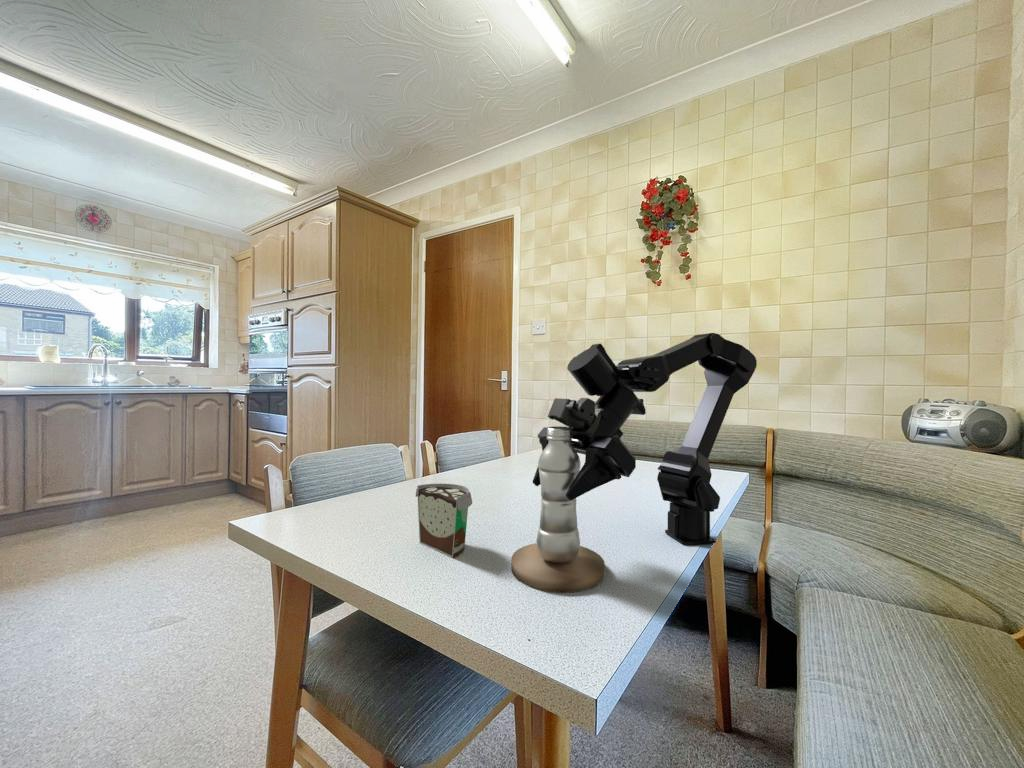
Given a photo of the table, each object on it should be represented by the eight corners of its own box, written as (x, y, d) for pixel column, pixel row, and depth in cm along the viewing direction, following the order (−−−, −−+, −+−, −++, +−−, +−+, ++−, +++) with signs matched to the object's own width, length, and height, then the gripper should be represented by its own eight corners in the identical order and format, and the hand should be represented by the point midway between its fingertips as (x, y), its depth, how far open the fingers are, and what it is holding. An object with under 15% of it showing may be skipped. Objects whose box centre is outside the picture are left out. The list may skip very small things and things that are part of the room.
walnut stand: (585, 548, 69) (585, 540, 69) (620, 588, 55) (620, 577, 55) (504, 553, 67) (505, 544, 67) (520, 596, 53) (520, 584, 53)
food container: (486, 550, 68) (487, 491, 68) (458, 561, 64) (459, 497, 64) (442, 532, 76) (443, 479, 77) (414, 540, 72) (415, 485, 72)
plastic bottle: (527, 558, 61) (528, 427, 61) (557, 546, 66) (558, 424, 66) (558, 573, 56) (559, 431, 56) (589, 560, 61) (590, 428, 61)
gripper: (547, 381, 71) (490, 447, 66) (620, 379, 55) (552, 466, 50) (582, 424, 75) (531, 489, 70) (661, 434, 58) (602, 521, 53)
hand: (550, 490), depth 60 cm, fingers open, 9 cm apart
